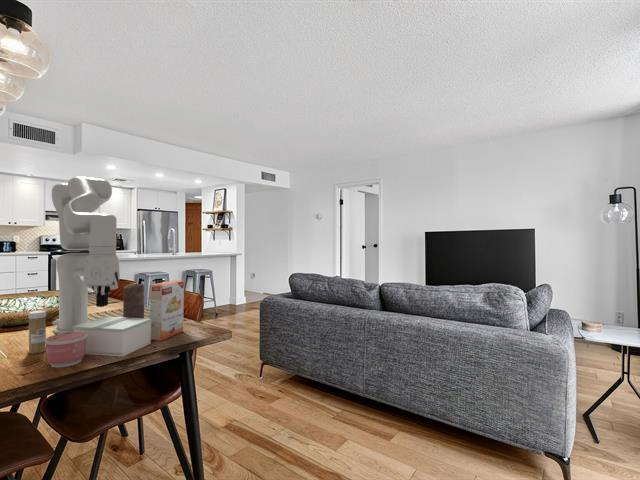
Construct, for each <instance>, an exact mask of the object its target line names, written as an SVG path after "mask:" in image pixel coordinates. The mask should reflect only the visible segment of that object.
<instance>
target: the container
mask: <svg viewBox="0 0 640 480" xmlns="http://www.w3.org/2000/svg"><path fill="white" fill-rule="evenodd" d="M86 338H87V334H86V333H83V332H71V333H63V334H55V335H50V336H47V337H46V339H45V348H46V350H45V357H46V361H47V362H48V364H50V366H51V367H52V368H65V367H66V368H67V367H71V366H74V365H77V364H80V363H82V359H83V358H84V357H85V356H86V354H85V353H86Z"/></svg>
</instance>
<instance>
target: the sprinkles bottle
mask: <svg viewBox="0 0 640 480" xmlns="http://www.w3.org/2000/svg"><path fill="white" fill-rule="evenodd" d="M46 319H47V311H46V310H35V311H30V312H28V354H31V355H32V354H33V355H34V354H40V353H43V352H46V344H45V339H46V338H47V336H46V335H47V332H46V331H47V330H46V326H47V325H46Z"/></svg>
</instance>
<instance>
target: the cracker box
mask: <svg viewBox="0 0 640 480" xmlns="http://www.w3.org/2000/svg"><path fill="white" fill-rule="evenodd" d="M184 293H185V281H183V280H170V281H164V282H159V283H153V284H149V301H148V302H149V304H148V319H152V321H151V341H158V342H162V341H165V340H167V339H169V338H171V337H173V336H175V335H176V336H177V334H181V333H182V332H183V331H184V303H185V301H184V298H185V297H184V296H185V294H184Z"/></svg>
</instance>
